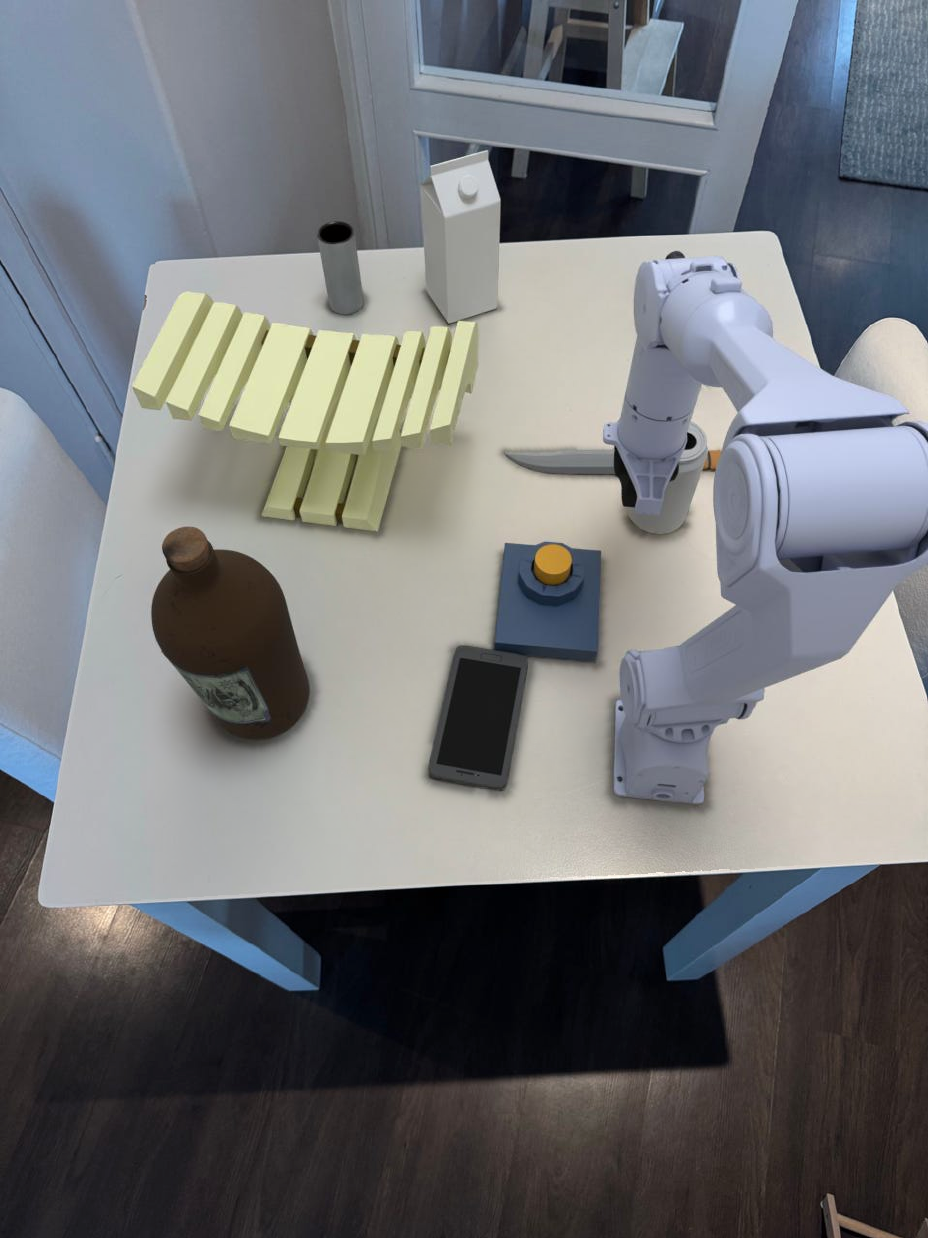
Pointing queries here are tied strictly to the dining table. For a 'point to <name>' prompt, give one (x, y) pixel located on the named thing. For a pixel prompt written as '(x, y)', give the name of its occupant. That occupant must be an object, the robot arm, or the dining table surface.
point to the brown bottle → (229, 636)
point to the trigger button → (552, 564)
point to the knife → (582, 461)
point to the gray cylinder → (340, 267)
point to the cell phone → (479, 717)
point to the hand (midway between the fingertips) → (633, 501)
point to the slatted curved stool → (311, 399)
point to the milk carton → (461, 236)
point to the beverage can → (678, 487)
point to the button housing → (549, 606)
